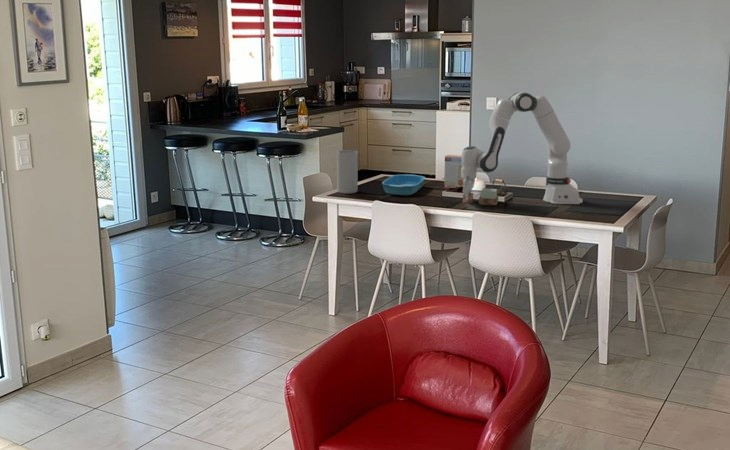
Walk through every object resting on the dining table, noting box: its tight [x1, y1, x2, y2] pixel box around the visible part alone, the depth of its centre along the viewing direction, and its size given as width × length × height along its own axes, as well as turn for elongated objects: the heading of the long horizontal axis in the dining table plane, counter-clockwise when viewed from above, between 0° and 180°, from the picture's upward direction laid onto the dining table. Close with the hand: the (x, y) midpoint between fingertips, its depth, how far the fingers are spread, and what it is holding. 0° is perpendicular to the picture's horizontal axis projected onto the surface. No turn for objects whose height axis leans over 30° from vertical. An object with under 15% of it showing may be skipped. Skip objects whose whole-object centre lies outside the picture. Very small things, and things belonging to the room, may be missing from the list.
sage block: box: [480, 188, 498, 199], centre depth 463 cm, size 8×8×4 cm
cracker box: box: [443, 154, 464, 190], centre depth 501 cm, size 14×6×21 cm, turn 65°
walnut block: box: [478, 195, 499, 206], centre depth 464 cm, size 10×10×4 cm
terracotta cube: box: [462, 192, 474, 204], centre depth 467 cm, size 5×5×5 cm
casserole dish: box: [381, 174, 426, 196], centre depth 497 cm, size 37×22×7 cm, turn 161°
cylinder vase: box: [336, 149, 359, 195], centre depth 491 cm, size 12×12×25 cm
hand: (468, 197), depth 467 cm, fingers open, 8 cm apart
